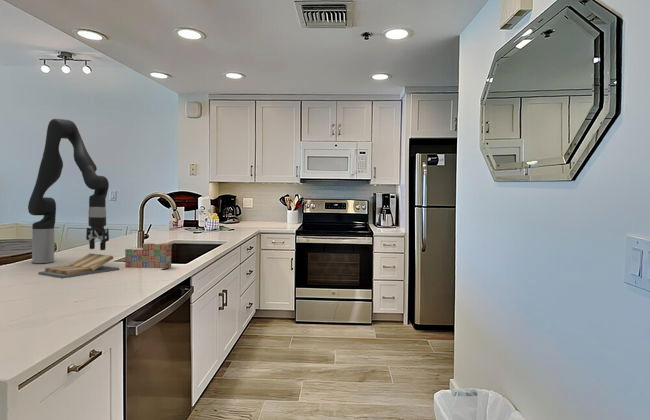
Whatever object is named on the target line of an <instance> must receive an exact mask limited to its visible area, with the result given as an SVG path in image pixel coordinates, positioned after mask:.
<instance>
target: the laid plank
mask: <svg viewBox="0 0 650 420" xmlns="http://www.w3.org/2000/svg"><path fill="white" fill-rule="evenodd" d="M44 271H46V272H52V273H59V274H65V275H71V274H78V273H85V272H91V268H85V267H77V266H70V265H69V264H68V265H67V264H66V265H59V266H58V265H57V266H52V267H51V266H50V267H45V268H44Z"/></svg>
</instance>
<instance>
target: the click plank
mask: <svg viewBox="0 0 650 420" xmlns="http://www.w3.org/2000/svg"><path fill="white" fill-rule="evenodd" d="M113 259H114V257H113V255H107V254H100V253H99V254H98V253H91V252H89V253H88V254H86V255H84V256H82V257H81V258H79V259H77V260H74V261H73V262H71V263H70V264H68V265H70V266H77V267H85V268H91V271H94V270H95V269H97V268H99V267H100V266H105V264H107V263H109V262H110V261H113Z"/></svg>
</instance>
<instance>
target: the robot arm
mask: <svg viewBox="0 0 650 420" xmlns="http://www.w3.org/2000/svg"><path fill="white" fill-rule="evenodd" d="M62 139H67V140H68V141H69V142H70V144H71V146H72V148H73V160H74V162H75V164H76V166H77V167H78V169H79V171H80V172H81V176H82V178H83V182H84V184H85V186H86V187H87V188H88V189H90V190H92V191H93V190H94V192H93V194H91V195H90V196H89V198H88V226H89V227H87V228H86V233H85V234H86V235H85V237H86V238H85V239H86V241H88V242H89V243H88V245H89V246H88V247H89V250H95V247H96V244H95V243H96V242H95V241H96V239H98V240H99V246H100V247H99V250H100V251H106V244H107V243H106V242H109V240H110V235H109V228H105V227H106V226H107V208H106V205H107V204H106V203H107V202H106V199H107V195H108V190H109V186H110V185H109V180H108V178H107V177H106V176H103V175H97V173H96V171H97V170H98V168H97V165H96V164H95V162H94V161H93V159H92V157H91V156H90V154H89V153H88V150H87V148H86V145H85V143H84V141H83V138H82V136H81V134H80V131H79V129H78V127H77V125H76V124H75V122H74V121H72V120H70V119H62V118H52V119H51V120H49V122H48V125H47V129H46V136H45V144H44V149H43V152H42V153H43V154H42V158H41V162H40V164H39V168H38V171H37V172H38V173H37V177H36V181H35V185H34V188H33V189H32V190H33V191H32V192H31V196H30V198H29V200H28V205H27V210H28V213H29V214H30V215H31V216H42V219H40V220H39V221H35V222H34V223H32V227H31V228H32V231H31V232H32V233H31V235H32V239H31V241H32V243H31V244H32V245H31V252H32V253H31V262H32V264H47V263H53V262H55V224H56V217H57V216H56V215H57V204H56V202H57V201H55V199H54V198H53V197H48V196H47V197H45V194H46V192H47V191H48V190H49V188H51V187H52V186H53V185H54V184H56V182H57V181H58V180H59V179H60V177H61V174H62V172H63V168H64V162H63V161H64V160H63V158H62V156H61V154H60V143H61V141H62Z"/></svg>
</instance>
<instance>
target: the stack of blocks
mask: <svg viewBox="0 0 650 420" xmlns="http://www.w3.org/2000/svg"><path fill="white" fill-rule="evenodd" d="M124 253H125V257H124V259H125V264H124V265H125V268H138V269H140V268H142V269H145V268H146V269H169V268H172V243H171V242H144V243H142V247H129V248H126V249H125V250H124Z"/></svg>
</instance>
